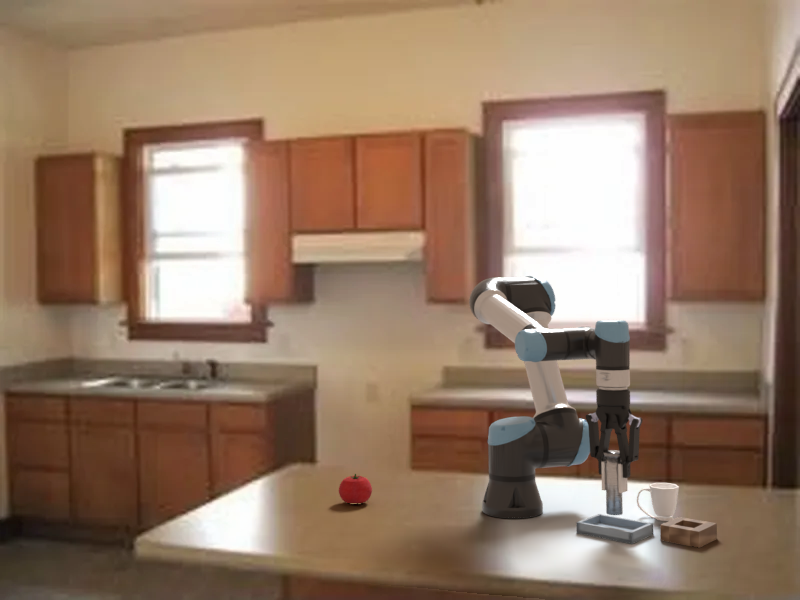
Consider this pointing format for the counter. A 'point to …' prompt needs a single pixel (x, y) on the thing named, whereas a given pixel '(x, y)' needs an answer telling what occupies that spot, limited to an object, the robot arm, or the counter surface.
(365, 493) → the tomato
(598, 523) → the tray
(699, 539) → the socket block
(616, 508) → the pin
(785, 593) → the counter surface
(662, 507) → the cup
